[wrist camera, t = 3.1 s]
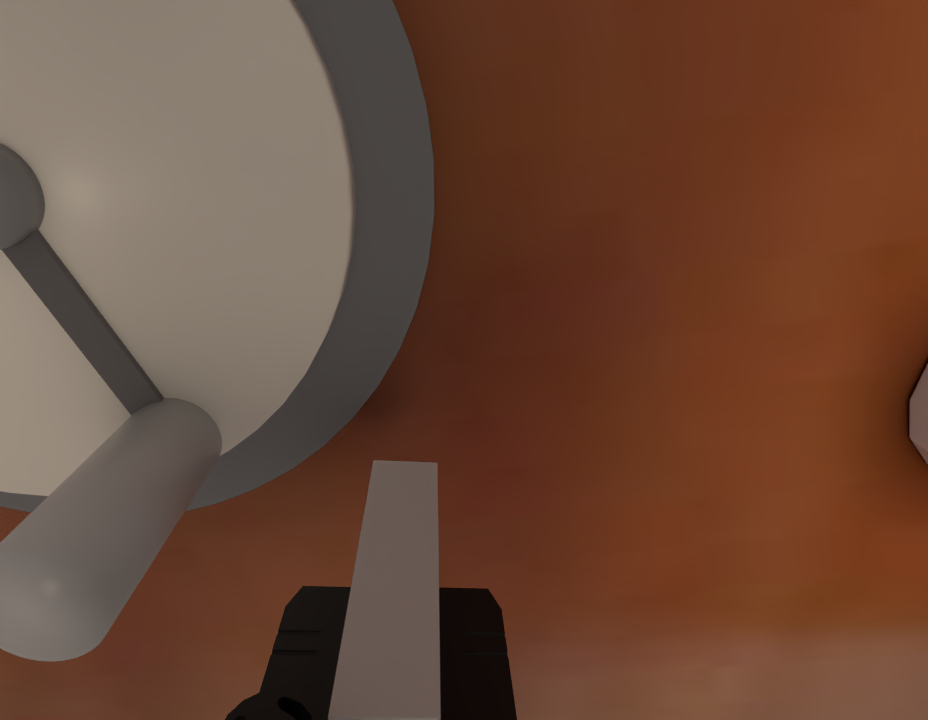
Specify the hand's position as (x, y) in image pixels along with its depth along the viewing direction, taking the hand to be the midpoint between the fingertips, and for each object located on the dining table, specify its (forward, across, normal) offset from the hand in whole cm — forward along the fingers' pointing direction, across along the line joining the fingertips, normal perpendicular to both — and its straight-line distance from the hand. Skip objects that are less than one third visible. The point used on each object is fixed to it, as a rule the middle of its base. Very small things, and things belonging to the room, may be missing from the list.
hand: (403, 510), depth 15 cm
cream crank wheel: (+4, -10, +6) cm, 12 cm away
